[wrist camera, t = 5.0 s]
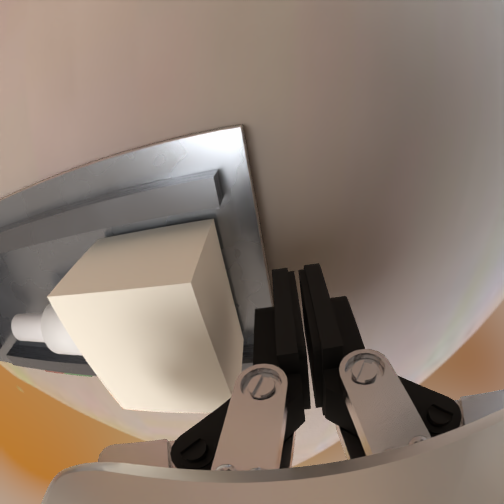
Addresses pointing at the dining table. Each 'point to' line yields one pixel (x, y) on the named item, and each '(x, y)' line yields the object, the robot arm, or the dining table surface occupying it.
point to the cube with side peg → (148, 319)
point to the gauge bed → (130, 228)
